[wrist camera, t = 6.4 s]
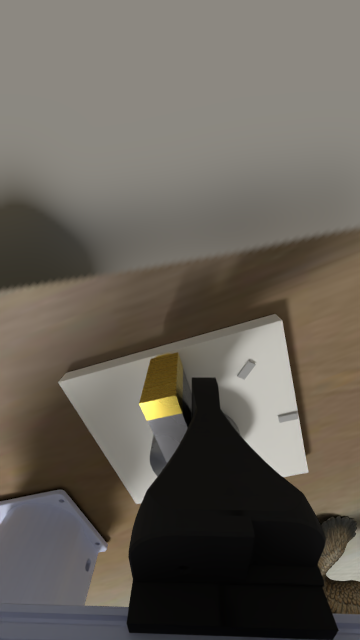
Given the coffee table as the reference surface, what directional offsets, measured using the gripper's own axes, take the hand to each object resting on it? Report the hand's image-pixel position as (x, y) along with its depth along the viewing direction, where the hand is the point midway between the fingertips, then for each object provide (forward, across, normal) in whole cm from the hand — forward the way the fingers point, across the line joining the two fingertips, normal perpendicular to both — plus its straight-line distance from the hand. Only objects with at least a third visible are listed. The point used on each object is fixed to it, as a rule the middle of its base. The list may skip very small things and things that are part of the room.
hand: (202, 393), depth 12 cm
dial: (+2, +1, +4) cm, 4 cm away
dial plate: (+3, 0, +5) cm, 6 cm away
